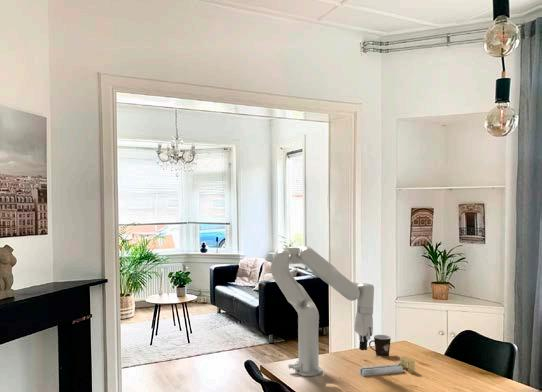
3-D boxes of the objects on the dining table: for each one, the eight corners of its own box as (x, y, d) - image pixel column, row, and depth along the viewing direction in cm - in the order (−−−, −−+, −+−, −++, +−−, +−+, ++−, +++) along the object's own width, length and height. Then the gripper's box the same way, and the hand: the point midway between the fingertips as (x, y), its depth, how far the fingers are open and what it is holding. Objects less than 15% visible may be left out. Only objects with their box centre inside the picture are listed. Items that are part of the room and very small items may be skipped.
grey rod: (361, 374, 191) (361, 367, 192) (359, 372, 193) (359, 366, 194) (402, 370, 196) (402, 364, 197) (400, 369, 198) (400, 362, 198)
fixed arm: (363, 376, 189) (363, 370, 189) (362, 375, 191) (362, 369, 191) (402, 372, 194) (402, 366, 194) (401, 371, 196) (401, 365, 196)
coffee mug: (389, 354, 224) (389, 335, 225) (392, 359, 216) (392, 339, 217) (367, 353, 226) (367, 334, 226) (369, 358, 217) (369, 338, 218)
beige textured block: (409, 373, 193) (408, 361, 193) (400, 367, 200) (400, 356, 200) (414, 372, 194) (414, 361, 194) (405, 367, 201) (405, 356, 201)
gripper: (350, 306, 205) (348, 344, 204) (365, 313, 191) (363, 354, 190) (364, 306, 207) (362, 344, 206) (380, 313, 193) (378, 354, 192)
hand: (363, 349), depth 198 cm, fingers closed
